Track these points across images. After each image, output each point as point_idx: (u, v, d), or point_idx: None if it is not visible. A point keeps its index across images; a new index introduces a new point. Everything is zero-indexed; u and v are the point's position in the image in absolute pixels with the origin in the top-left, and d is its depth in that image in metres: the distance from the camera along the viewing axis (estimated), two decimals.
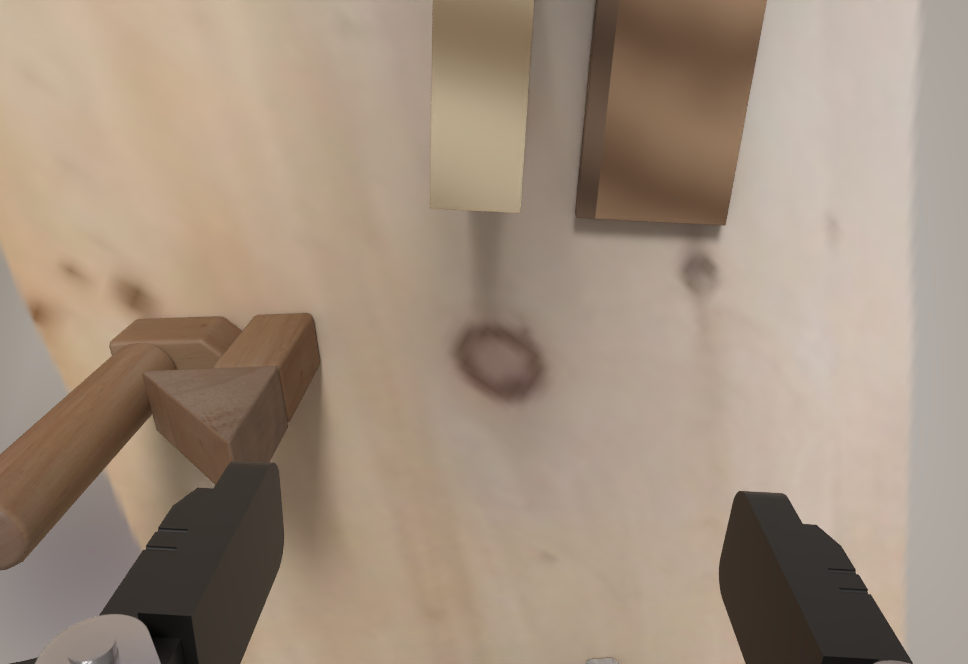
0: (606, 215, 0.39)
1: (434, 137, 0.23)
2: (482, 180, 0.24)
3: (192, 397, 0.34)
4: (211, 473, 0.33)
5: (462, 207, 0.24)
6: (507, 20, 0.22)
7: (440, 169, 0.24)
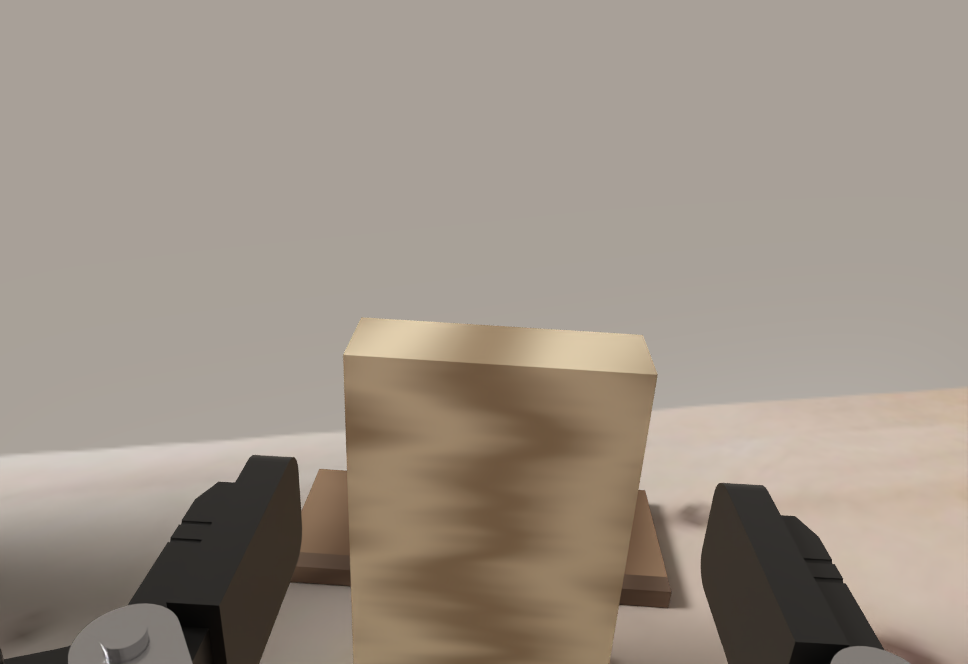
0: (661, 568, 0.37)
1: (584, 368, 0.23)
2: (618, 349, 0.25)
3: None
4: None
5: (649, 358, 0.24)
6: (477, 333, 0.25)
7: (615, 367, 0.24)
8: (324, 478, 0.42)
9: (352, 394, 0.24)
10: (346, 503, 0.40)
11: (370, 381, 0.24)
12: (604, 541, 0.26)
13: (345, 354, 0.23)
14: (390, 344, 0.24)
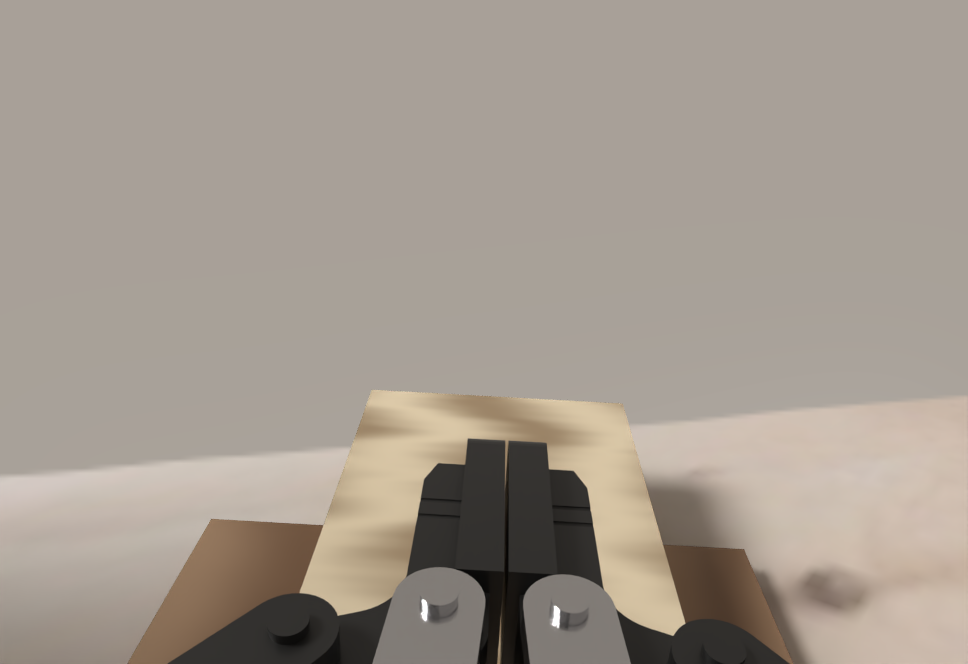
0: None
1: None
2: None
3: None
4: None
5: None
6: None
7: None
8: (216, 536, 0.25)
9: (372, 408, 0.28)
10: (245, 582, 0.23)
11: (390, 402, 0.28)
12: (625, 509, 0.23)
13: (373, 390, 0.29)
14: None
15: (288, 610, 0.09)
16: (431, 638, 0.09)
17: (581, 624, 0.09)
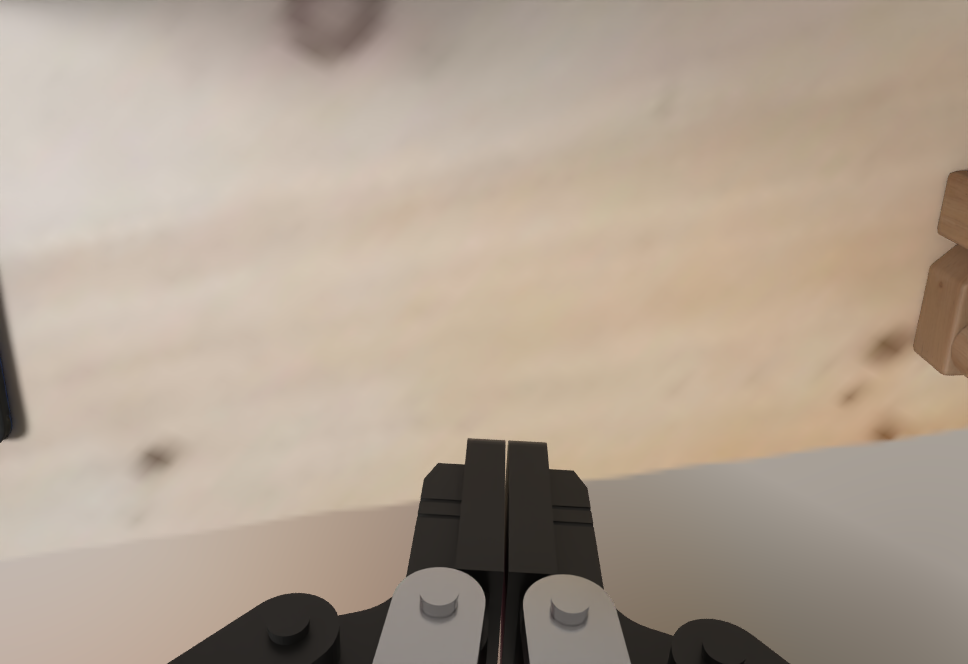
0: None
1: None
2: None
3: None
4: None
5: None
6: None
7: None
8: None
9: None
10: None
11: None
12: None
13: None
14: None
15: (287, 610, 0.09)
16: (431, 637, 0.09)
17: (581, 624, 0.09)
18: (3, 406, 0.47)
